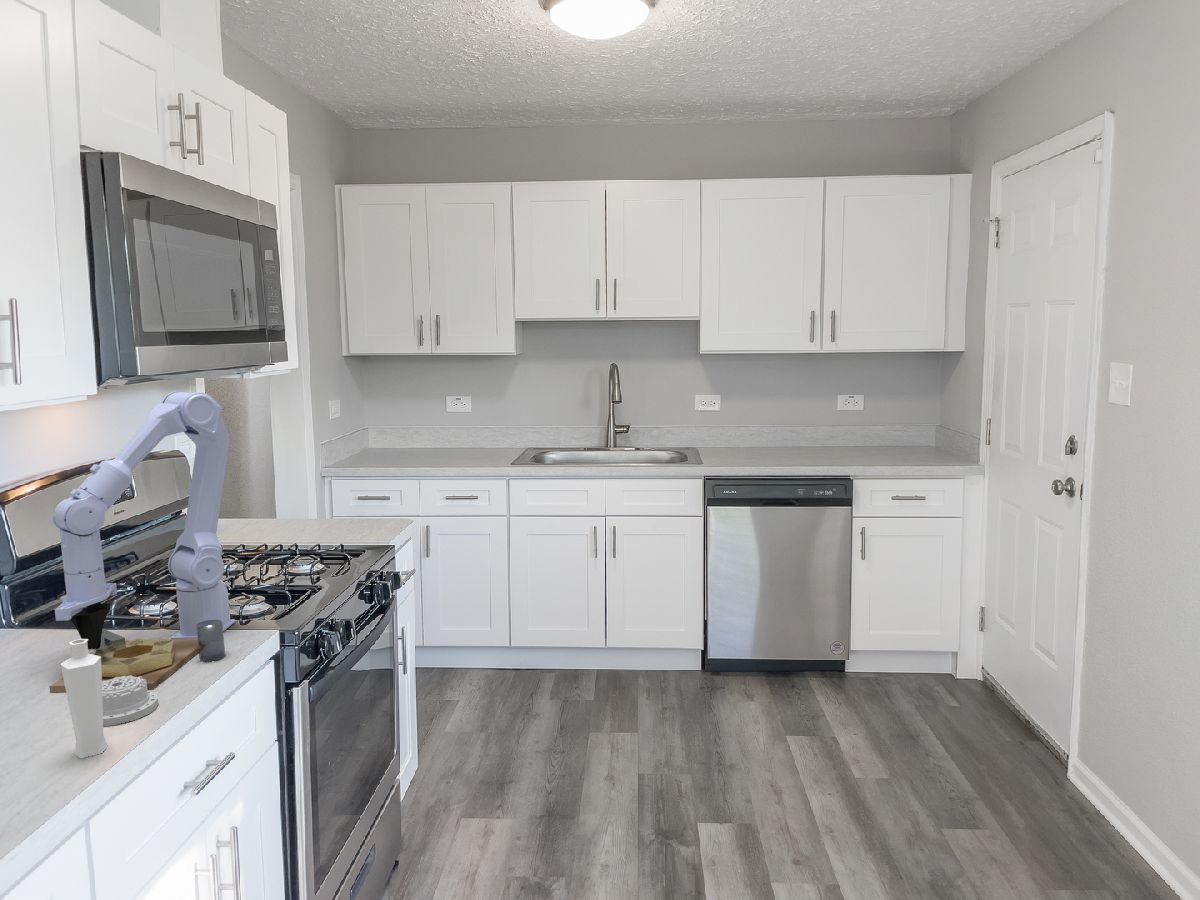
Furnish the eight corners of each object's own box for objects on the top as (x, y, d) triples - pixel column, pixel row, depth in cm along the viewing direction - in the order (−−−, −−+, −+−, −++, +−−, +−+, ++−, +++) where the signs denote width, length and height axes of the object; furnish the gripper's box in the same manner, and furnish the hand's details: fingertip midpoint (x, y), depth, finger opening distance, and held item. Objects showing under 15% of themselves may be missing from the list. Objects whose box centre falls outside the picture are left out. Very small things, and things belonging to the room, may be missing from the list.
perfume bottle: (117, 749, 117) (105, 640, 115) (80, 762, 114) (67, 649, 112) (104, 739, 120) (92, 632, 118) (68, 751, 117) (55, 642, 115)
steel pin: (206, 653, 152) (202, 620, 151) (229, 653, 152) (226, 619, 151) (195, 662, 148) (192, 627, 147) (219, 661, 148) (216, 627, 147)
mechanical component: (92, 704, 133) (71, 732, 123) (88, 675, 132) (67, 702, 122) (164, 695, 135) (150, 722, 126) (161, 667, 134) (147, 692, 125)
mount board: (119, 646, 157) (118, 640, 157) (209, 643, 157) (209, 637, 156) (50, 692, 137) (49, 685, 137) (153, 689, 137) (152, 682, 137)
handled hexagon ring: (192, 657, 146) (190, 640, 146) (106, 684, 136) (104, 666, 135) (137, 635, 158) (135, 618, 158) (54, 658, 148) (52, 640, 148)
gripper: (85, 559, 154) (93, 634, 156) (32, 582, 140) (41, 665, 141) (125, 558, 154) (133, 633, 156) (77, 581, 140) (86, 664, 141)
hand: (92, 648), depth 149 cm, fingers closed
